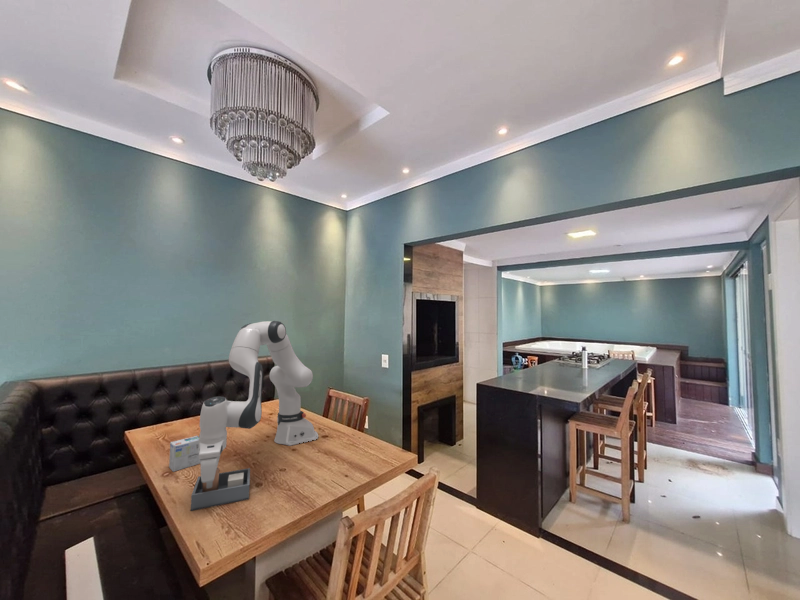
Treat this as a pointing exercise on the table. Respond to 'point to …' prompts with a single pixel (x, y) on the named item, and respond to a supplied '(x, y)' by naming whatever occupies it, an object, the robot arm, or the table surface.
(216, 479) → the tan rounded cylinder
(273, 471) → the table surface
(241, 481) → the cream cube
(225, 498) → the box
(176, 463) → the light bulb box
